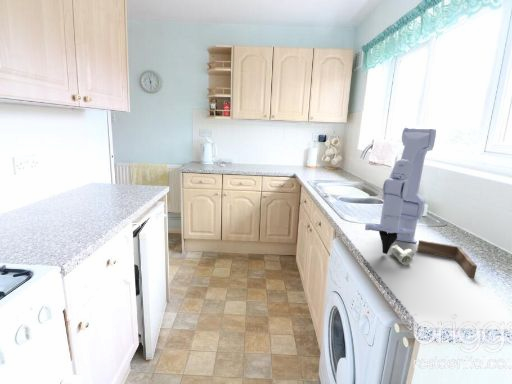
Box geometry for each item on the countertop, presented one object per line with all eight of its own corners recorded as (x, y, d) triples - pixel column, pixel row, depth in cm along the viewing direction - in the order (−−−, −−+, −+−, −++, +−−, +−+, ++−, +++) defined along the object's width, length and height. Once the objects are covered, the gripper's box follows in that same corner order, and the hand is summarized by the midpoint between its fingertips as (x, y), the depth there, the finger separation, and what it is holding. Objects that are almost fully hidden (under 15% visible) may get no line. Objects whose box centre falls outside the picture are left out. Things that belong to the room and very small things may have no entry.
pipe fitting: (408, 256, 100) (389, 254, 100) (411, 246, 99) (391, 243, 99) (420, 267, 92) (399, 265, 92) (423, 256, 91) (402, 253, 91)
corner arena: (417, 250, 104) (419, 240, 103) (457, 257, 100) (459, 246, 99) (426, 269, 90) (428, 257, 89) (474, 278, 86) (477, 266, 85)
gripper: (368, 214, 93) (362, 253, 96) (417, 221, 89) (410, 261, 92) (367, 209, 100) (362, 245, 103) (413, 215, 95) (406, 253, 98)
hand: (384, 252), depth 98 cm, fingers closed
